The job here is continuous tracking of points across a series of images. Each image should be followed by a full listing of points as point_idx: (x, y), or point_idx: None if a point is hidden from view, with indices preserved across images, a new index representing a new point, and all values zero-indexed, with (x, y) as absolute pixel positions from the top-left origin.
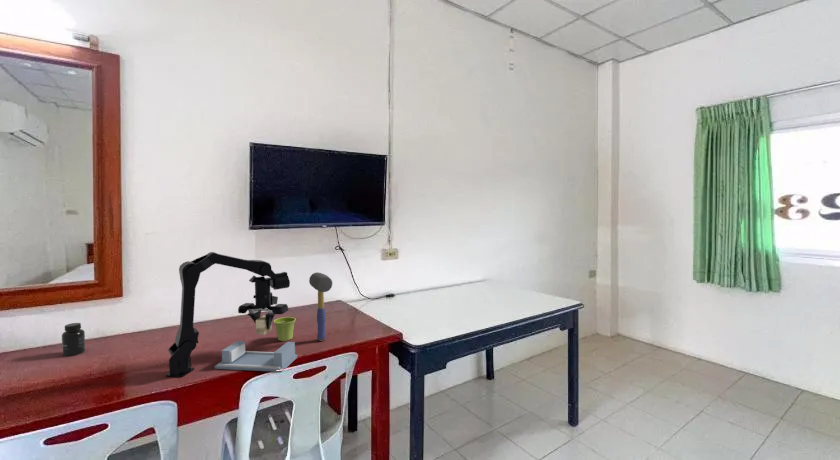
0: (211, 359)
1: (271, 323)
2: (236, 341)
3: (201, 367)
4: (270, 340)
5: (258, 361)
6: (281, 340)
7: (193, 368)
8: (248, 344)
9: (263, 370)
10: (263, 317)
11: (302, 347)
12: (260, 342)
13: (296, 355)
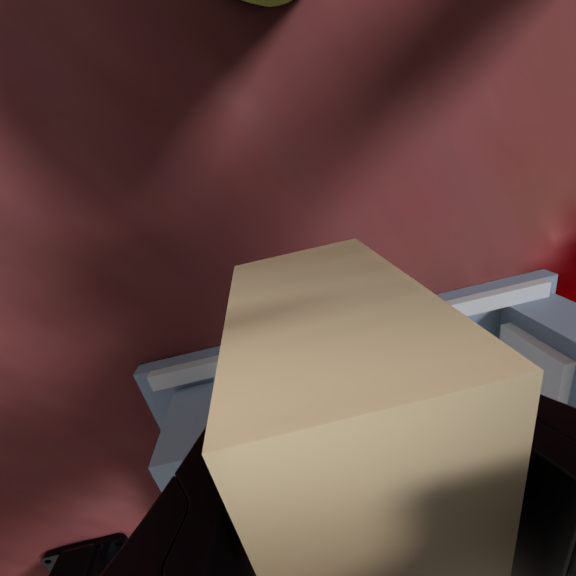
0: (75, 451)
1: (399, 275)
2: (156, 480)
3: (130, 511)
4: (138, 16)
5: None
6: (271, 5)
7: (122, 543)
8: (35, 189)
9: None
10: (372, 564)
11: (526, 101)
12: (91, 107)
13: (555, 287)
